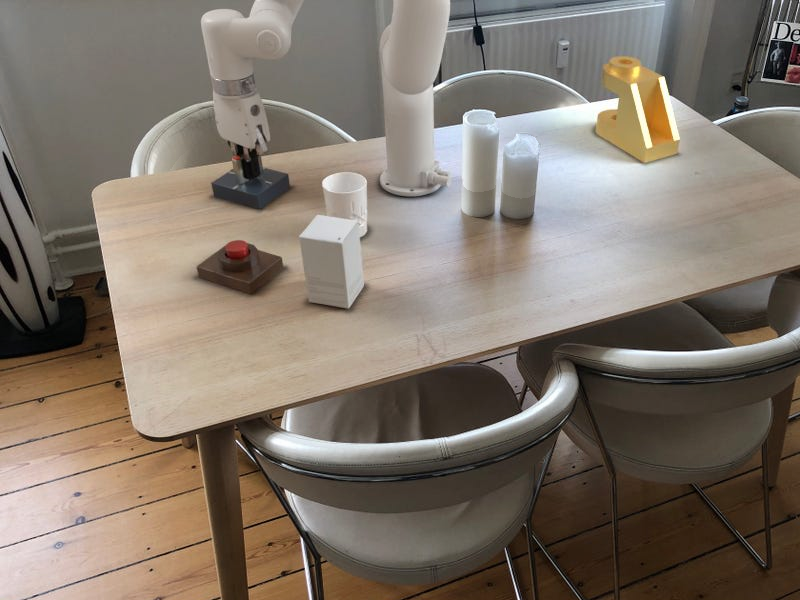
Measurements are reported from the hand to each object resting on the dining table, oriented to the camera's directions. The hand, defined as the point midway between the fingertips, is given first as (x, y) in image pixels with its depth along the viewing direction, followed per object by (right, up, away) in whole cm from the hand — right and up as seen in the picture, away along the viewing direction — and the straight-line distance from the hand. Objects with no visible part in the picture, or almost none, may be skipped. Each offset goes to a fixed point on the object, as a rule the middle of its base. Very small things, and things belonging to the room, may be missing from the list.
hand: (249, 175), depth 162 cm
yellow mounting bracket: (+79, +13, +24) cm, 84 cm away
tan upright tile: (0, -1, 0) cm, 1 cm away
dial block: (0, -3, +2) cm, 4 cm away
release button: (+4, -18, -22) cm, 29 cm away
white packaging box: (+21, -25, -24) cm, 41 cm away
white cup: (+21, -12, -8) cm, 26 cm away
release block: (+4, -21, -20) cm, 29 cm away
